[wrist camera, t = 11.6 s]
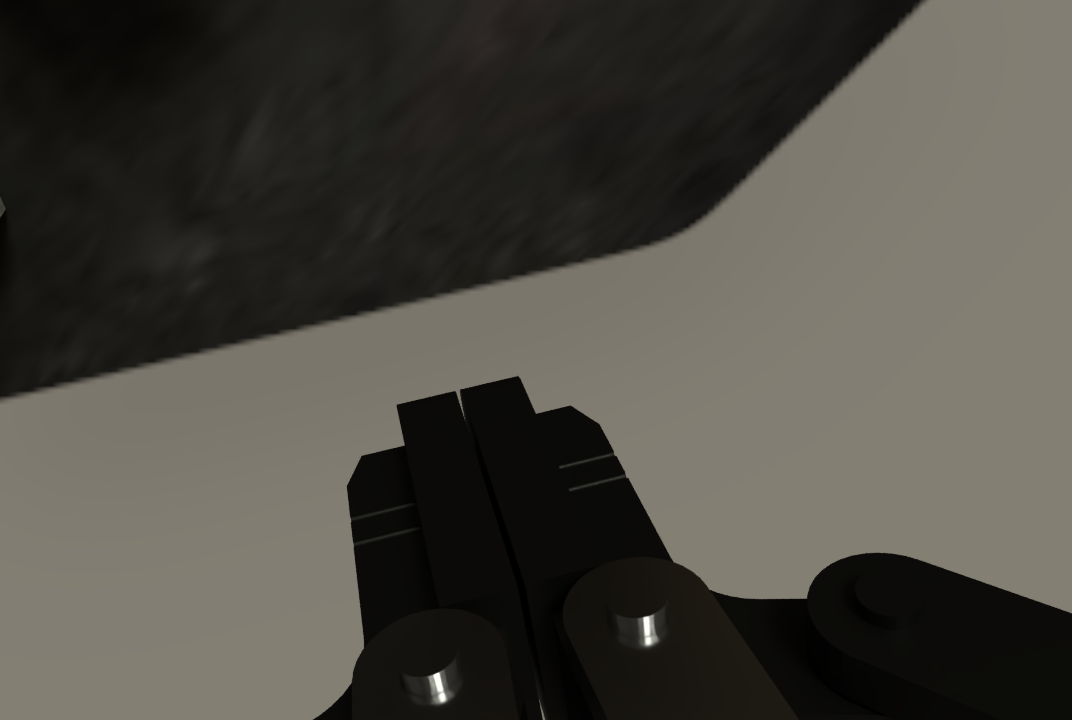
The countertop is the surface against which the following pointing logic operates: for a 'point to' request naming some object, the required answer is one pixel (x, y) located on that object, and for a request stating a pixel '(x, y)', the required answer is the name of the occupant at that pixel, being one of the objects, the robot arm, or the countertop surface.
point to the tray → (1, 207)
